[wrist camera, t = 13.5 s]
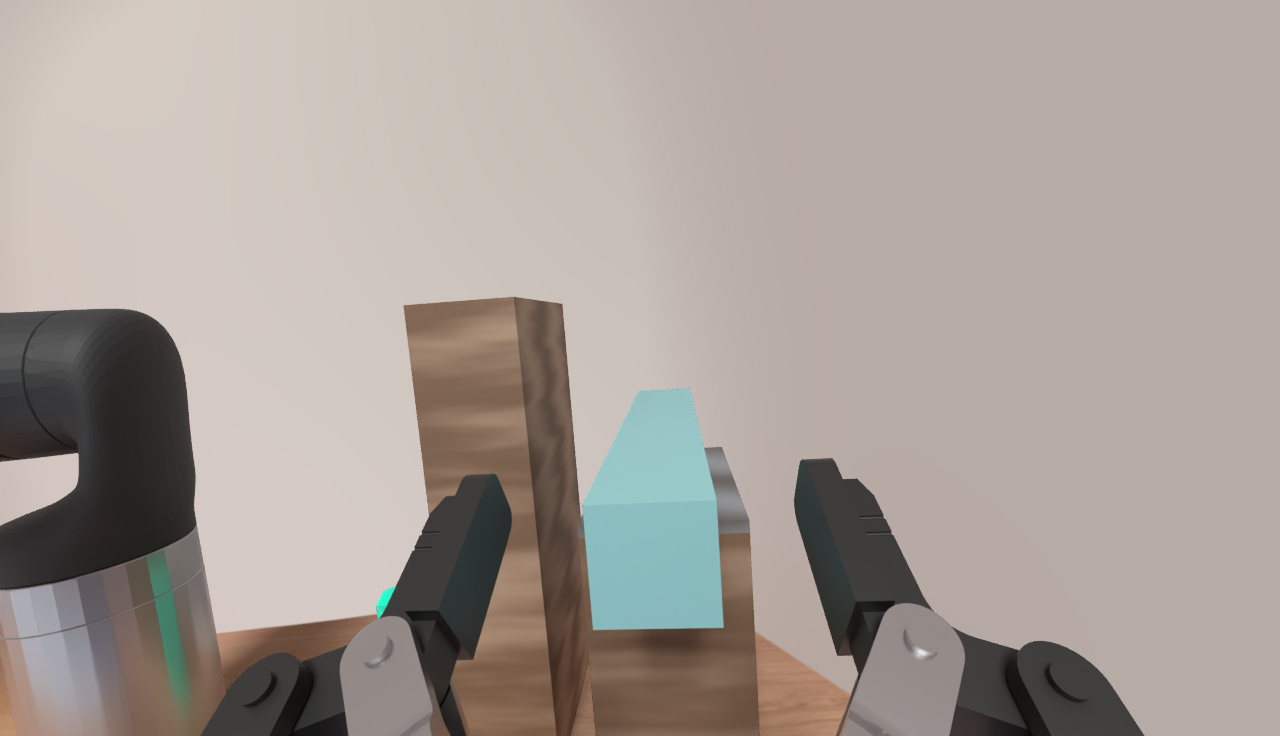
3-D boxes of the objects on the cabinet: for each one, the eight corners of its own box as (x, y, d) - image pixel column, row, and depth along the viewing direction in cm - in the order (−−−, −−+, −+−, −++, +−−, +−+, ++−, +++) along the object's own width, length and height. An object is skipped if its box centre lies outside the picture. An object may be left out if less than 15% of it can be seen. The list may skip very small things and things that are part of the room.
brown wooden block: (768, 912, 23) (749, 520, 21) (610, 907, 23) (577, 526, 21) (735, 709, 35) (721, 447, 33) (631, 709, 35) (611, 452, 33)
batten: (723, 627, 14) (716, 500, 13) (593, 629, 14) (582, 505, 14) (692, 438, 36) (689, 388, 35) (641, 441, 36) (638, 391, 35)
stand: (560, 774, 31) (513, 296, 27) (460, 773, 31) (403, 305, 28) (591, 647, 42) (562, 303, 39) (519, 647, 43) (484, 309, 40)
